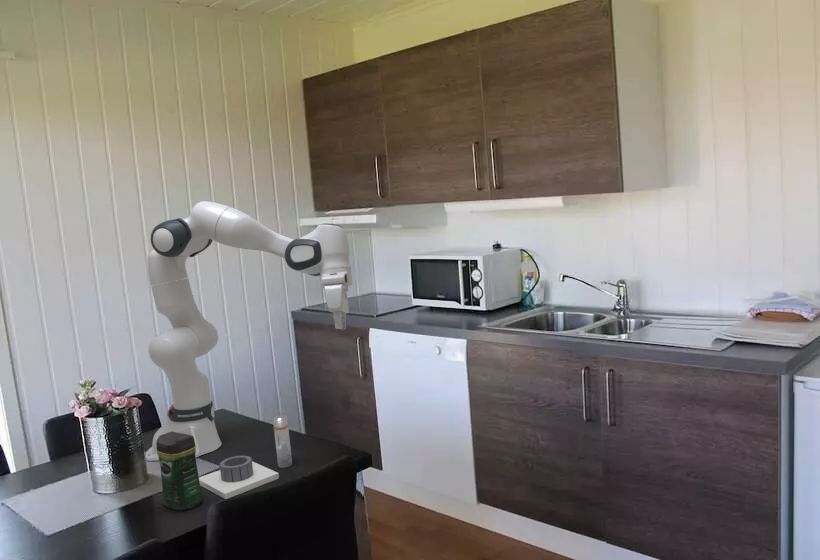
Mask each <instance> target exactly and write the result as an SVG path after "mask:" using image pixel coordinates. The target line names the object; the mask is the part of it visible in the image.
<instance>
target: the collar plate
mask: <svg viewBox="0 0 820 560" xmlns="http://www.w3.org/2000/svg"><path fill="white" fill-rule="evenodd" d="M278 479H280V474H279V472H277V471H275V470H273V469H270V468H269V467H266V466H264V465H261V464H259V463H257V462H254V461H253V459H252V457H251V456H248V455H235V456H231V457H228V458H225V459H223V460H222V461H221V462H219V470H217V471H213V472H211V473H208V474H205V475H202V476H199V482H200V487H202V488H205V489H206V490H208V491H210V492H212V493H213V494H216V495H217V496H219V497H221V498H222V499H225V500H227V499H230V498H232V497H235V496H237V495H240V494H243V493H245V492H247V491H248V492H249V491H251V490H253V489H256V488H258V487H261V486H263V485H265V484H268V483H271V482H273V481H277V480H278Z"/></svg>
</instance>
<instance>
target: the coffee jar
mask: <svg viewBox="0 0 820 560" xmlns="http://www.w3.org/2000/svg"><path fill="white" fill-rule="evenodd" d="M156 446H157V454H158V457H159V460H158V461H159V465H160V466H159V467H160V468H159V469H160V476H161V486H162V487H161V488H162V500H163V504H164V506H165V507H166V508H169V509H172V510H175V511H183V510H188V509H192V508H195V507H196V506H198V505H199V504H200V503H201V502H202V501H203V496H202V495H203V494H202V488H201V487H202V486H200V482H199V477H200V476H199V471H198V465H197V458H196V456H195V451H196V445H195V441H194V437H193V436H192V435H187V434H183V433H177V432H173V431H172V432H169V433H166V434H163V435H160V436H159V438H158V439H157V442H156Z"/></svg>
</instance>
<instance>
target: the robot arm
mask: <svg viewBox="0 0 820 560" xmlns="http://www.w3.org/2000/svg"><path fill="white" fill-rule="evenodd" d="M213 241H214V242H216V243H219V244H221V245H223V246H224V245H225V246H226V247H227V246H228V247H232V248H236V249H237V248H238V249H244V250H251V251H259V252H266V253H269V254H273V255H275V256H277V257H280V258H283V259H284V260H285V263H286V264H287V266H288V267H289V268H290V269H292V270H294V271H296V272H299V273H302V274H303V273H304V274H307V275H309V276H311V277H312V276H313V277H320V288H322V289H324V294H325V295H324V296H325V301H326V306H327V309H328V310H327V311H329V312H330V313H332V318H333V321H334V328H335V329H336V330H346V328H347V326H346V325H347V324H346V321H347V320H346V318H347V317H346V314H349V312H350V311H349V300H348V299H349V298H348V294H347V293H348V292H349V286H352V285H353V277H352V266H351V264H350V261H349V258H350V247H349V246H350V245H349V240H348V235H347V231H346V229H345V228H344V227H343V226H341V225H340V224H334V223H321V224H320V223H319V225H317V227H316V228H314V229H313V230H312V231H311V232H309V233H308V234H305V235H304V236H301V237H299V238H296V239H294V238H291V237H287V236H285V235H282V234H280V233H278V232H276V231H273V230H272V229H271V228H269V227H267V226H265V224H262V223H261V222H260V221H258V220H257V219H255V218H253V217H252V216H250V215H248V214H247V213H245V212H244V211H241V210H239V209H237V208H234V207H232V206H229V205H226V204H222V203H219V202H214V201H209V200H201V201H199V202H197V203H195V204H194V206H193V207H192V209H191V211H190V213H189V216H188V217H181V218H180V217H178V218H174V219H170V220H169V219H168V220H166V221H163V222H160V223H159V224H157V225H156V226H155V227H154V228H153V229H152V231H151V233H150V244H151V246H152V248H153V249H152V250H151V251H149V253H148V254H147V272H148V279H149V283H150V288H151V291H152V295H153V301H154V303H155V308H156V311H157V312H158V313H160V314H161V315H163V316H165V317H166V318H167V320H168V321H169V323H170V324H171V326H172V328H171V329H167V330H166V331H163V332H161V333H160V334H158V335H157V336H155V337H154V338H153V339H152V340H151V341H150V343H149V345H148V354H149V358H150V360H151V361H152V363H154V365H155V366H157V367H159V368H160V369H162V370H163V372H164V374H165V375H166V377H167V379H168V382H169V385H170V390H171V394H172V395H171V396H172V397H171V398H172V402H173V404H171V405H170V407H168V408H169V409H168V410H167V412H166V414H167V415H166V416H167V418H168V419H167V421H166V422H164V424H163V425H162V426H160V428H159V429H158V430H157V431H156V432H155V433H154V435H153V439H152V446H151V447H149V449H147V451H146V453H145V460H146V461H148V462H150V461H151V462H157V461H159V457H158V454H157V446H156V442H157V439H158V438H159V436H160V435H163V434H166V433H169V432H172V431H173V432H177V433H183V434H187V435H192V436H193V437H194V441H195V445H196V451H195V456H196V459H197V458H199V457H200V456H202V455H205V454H208V453H212V452H214V451H216V450H218V449H219V448H220V447H221V446H222V444H223V443H222V441H221V438H220V436H219V434H218V430H217V427H216V423H215V409H214V408H215V407H214V405H213V400H212V399H211V392H210V385H209V384H210V383H209V378H208V376H207V375H206V374H205V373H203V372H200V370H199V367H198V366H197V362H196V359H198V358H199V357H202V356H205V355H207V354H208V353H209V352H210V351H211V350H213V349H214V348H215V347H216V346H217V344H218V341H219V333H218V331H217V328H216V327H215V325H214V324H212V323H211V322H210V321H208V320H207V319H205V317H204V316H203V315H202V313H201V312H200V309H199V308H198V306H197V304H196V301H195V299H194V295H193V291H192V287H191V283H190V279H189V276H188V272H187V267H186V262H187V259H188V258H194V257H195V256H197V255H198V254H200V253H202V252H203V251H205V250H206V249H208V248H209V247H210V245H211V244H212V243H213Z"/></svg>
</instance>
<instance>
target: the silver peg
mask: <svg viewBox="0 0 820 560" xmlns="http://www.w3.org/2000/svg"><path fill="white" fill-rule="evenodd" d="M288 421H289V420H288V416H287V415H285V414H281V415H275V416H273V417H272V422H273V423H272V424H273V425H272V426H273V433H274V443H275V449H276V450H275V451H276V459H277V466H278V468H281V469H283V468H285V469H286V468H289V467H291V466H293V460H292V449H291V441H290V429H289V422H288Z"/></svg>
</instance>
